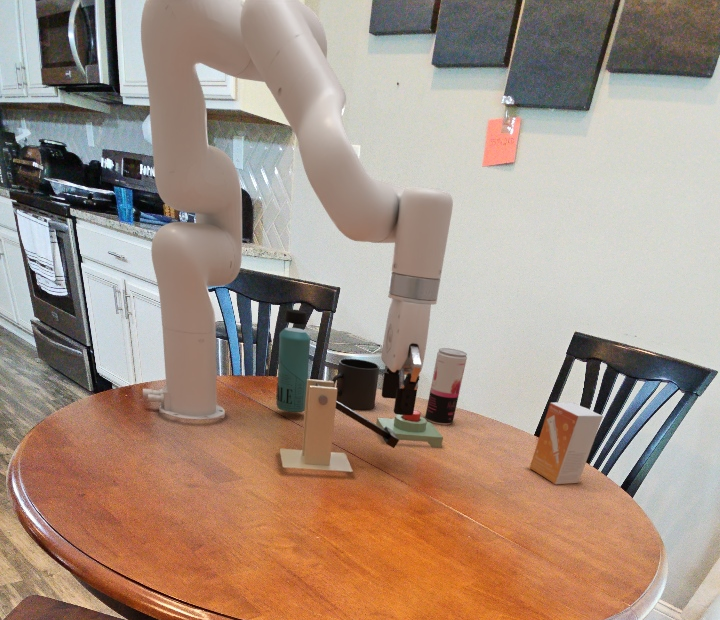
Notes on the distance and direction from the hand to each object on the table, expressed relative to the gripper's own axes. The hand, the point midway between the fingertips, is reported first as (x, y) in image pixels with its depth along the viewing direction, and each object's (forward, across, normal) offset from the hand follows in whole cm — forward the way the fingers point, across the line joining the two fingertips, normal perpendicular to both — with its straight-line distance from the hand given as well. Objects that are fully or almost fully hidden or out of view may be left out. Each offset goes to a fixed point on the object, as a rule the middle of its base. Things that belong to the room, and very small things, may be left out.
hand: (396, 405), depth 99 cm
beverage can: (+12, -34, +20) cm, 41 cm away
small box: (+12, -3, +35) cm, 37 cm away
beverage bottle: (+11, -29, -15) cm, 35 cm away
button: (+8, -20, +9) cm, 23 cm away
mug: (+11, -41, 0) cm, 43 cm away
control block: (+11, -20, +9) cm, 25 cm away
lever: (+3, 0, -7) cm, 8 cm away
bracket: (+11, 0, -13) cm, 17 cm away
